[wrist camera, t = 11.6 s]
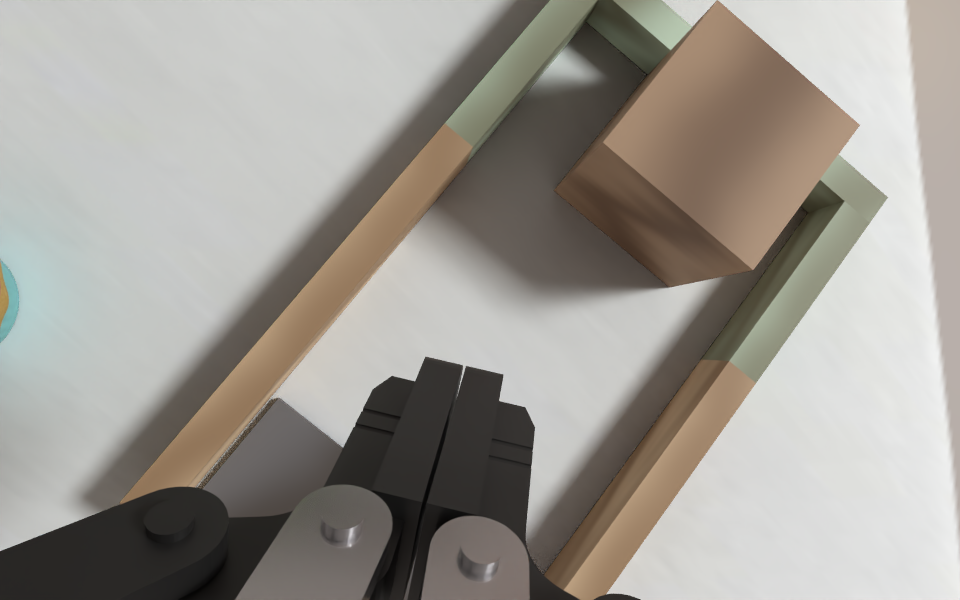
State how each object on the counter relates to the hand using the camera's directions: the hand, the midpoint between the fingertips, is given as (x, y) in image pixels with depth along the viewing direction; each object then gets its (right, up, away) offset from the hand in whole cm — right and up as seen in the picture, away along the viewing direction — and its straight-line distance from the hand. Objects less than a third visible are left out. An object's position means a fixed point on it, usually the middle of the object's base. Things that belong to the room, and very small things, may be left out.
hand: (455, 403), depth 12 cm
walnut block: (+9, +7, +17) cm, 21 cm away
